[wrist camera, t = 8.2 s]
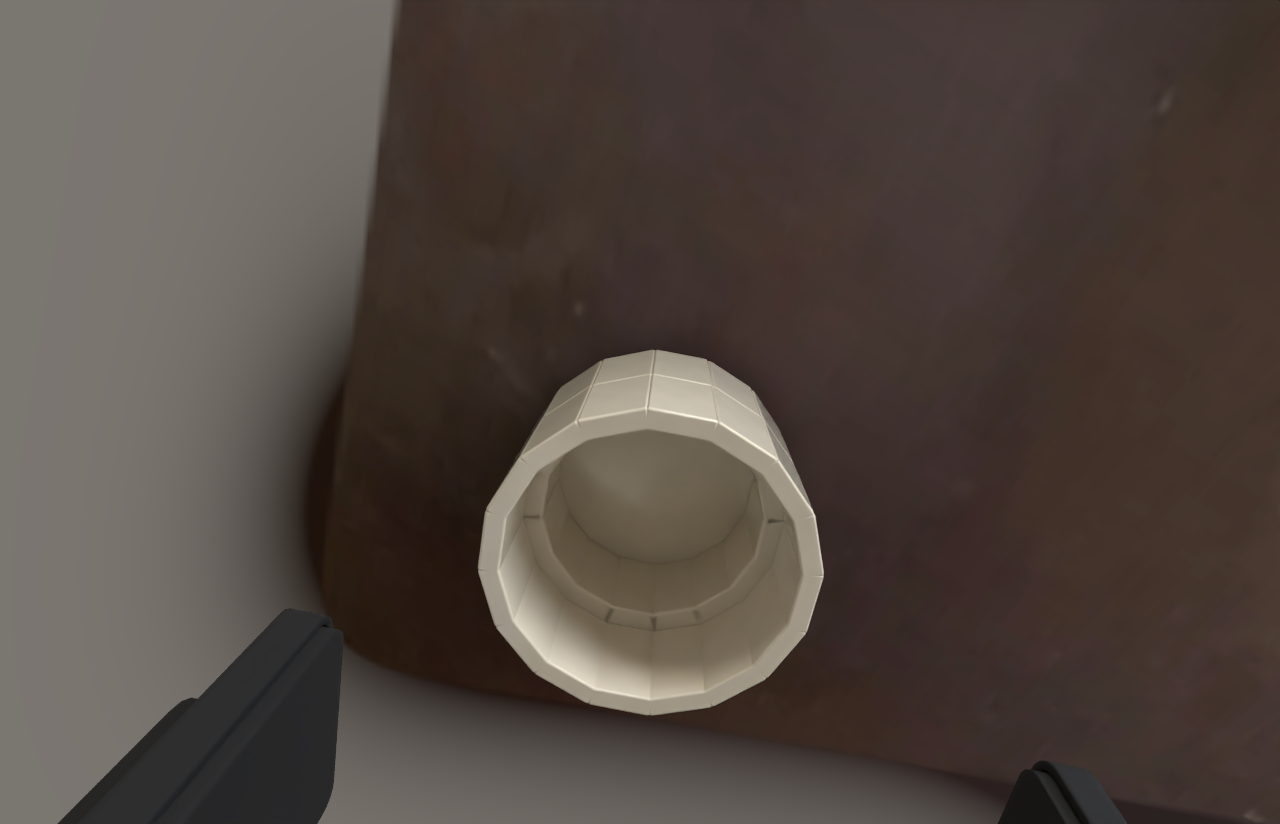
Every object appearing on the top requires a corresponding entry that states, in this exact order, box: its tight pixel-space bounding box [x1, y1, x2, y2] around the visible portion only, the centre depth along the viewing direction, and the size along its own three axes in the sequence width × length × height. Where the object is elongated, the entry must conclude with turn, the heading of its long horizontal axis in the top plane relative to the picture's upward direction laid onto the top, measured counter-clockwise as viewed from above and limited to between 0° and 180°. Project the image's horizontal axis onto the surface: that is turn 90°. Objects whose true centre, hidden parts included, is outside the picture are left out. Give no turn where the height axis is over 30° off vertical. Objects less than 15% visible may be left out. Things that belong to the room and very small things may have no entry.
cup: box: [478, 350, 824, 715], centre depth 17 cm, size 7×7×6 cm
